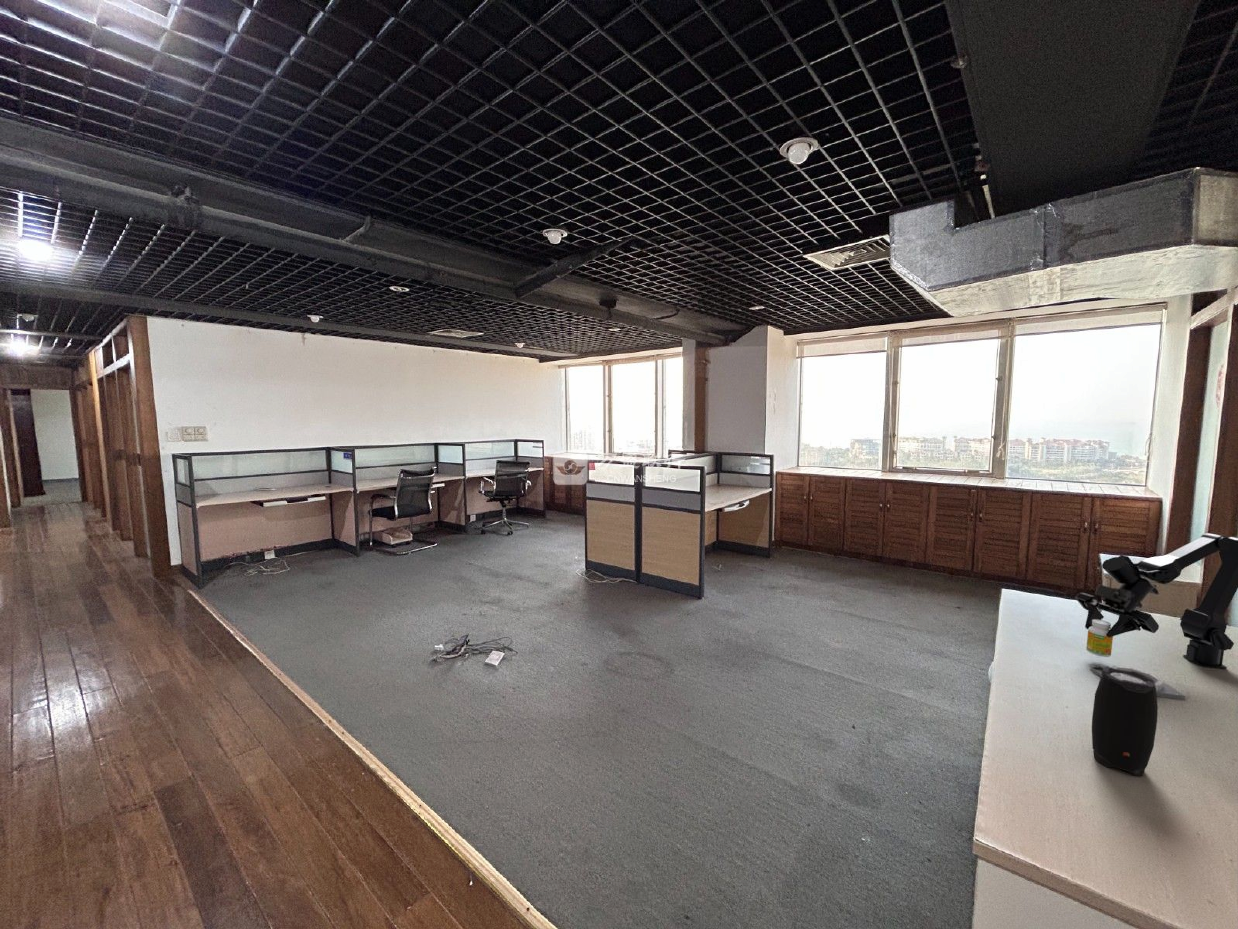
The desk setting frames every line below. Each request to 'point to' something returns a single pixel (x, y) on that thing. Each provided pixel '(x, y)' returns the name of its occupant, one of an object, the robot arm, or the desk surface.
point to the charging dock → (1161, 687)
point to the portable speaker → (1124, 720)
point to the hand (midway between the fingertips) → (1096, 632)
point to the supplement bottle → (1099, 638)
